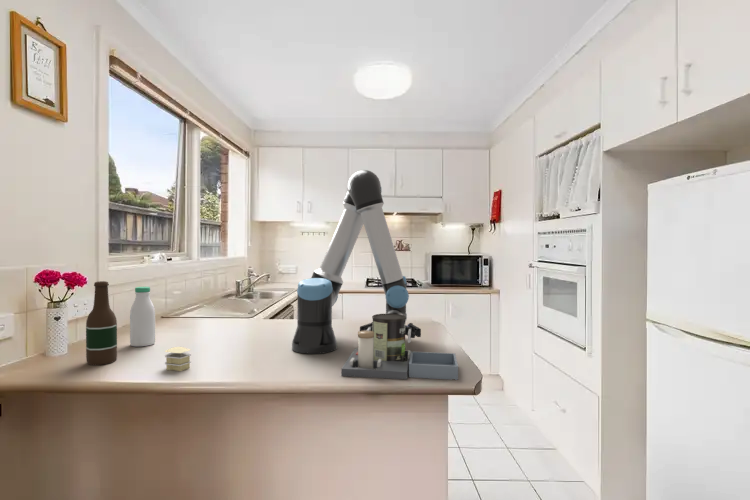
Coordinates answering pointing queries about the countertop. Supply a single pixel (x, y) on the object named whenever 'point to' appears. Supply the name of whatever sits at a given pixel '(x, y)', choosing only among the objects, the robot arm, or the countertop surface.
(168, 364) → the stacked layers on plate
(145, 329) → the milk bottle
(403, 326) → the coffee can
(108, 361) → the beer bottle
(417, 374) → the tray
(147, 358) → the countertop surface
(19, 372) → the countertop surface
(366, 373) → the grey holder base
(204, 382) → the countertop surface
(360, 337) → the spice jar
